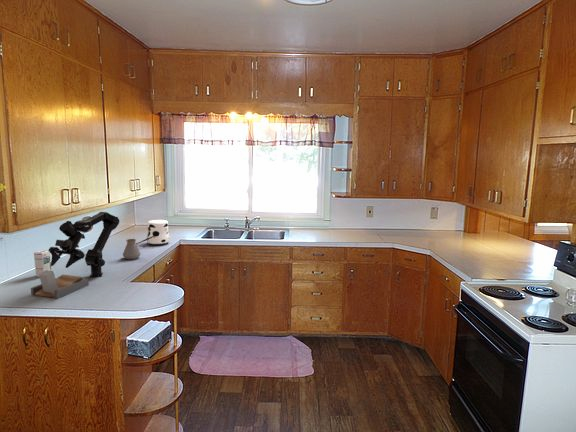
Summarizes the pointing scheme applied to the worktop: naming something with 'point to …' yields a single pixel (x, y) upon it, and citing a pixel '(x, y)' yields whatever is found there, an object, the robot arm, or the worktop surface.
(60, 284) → the trapdoor
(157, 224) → the milk container
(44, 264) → the syrup box
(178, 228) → the worktop surface
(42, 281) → the stone
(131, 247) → the coffee pot
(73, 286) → the frame
